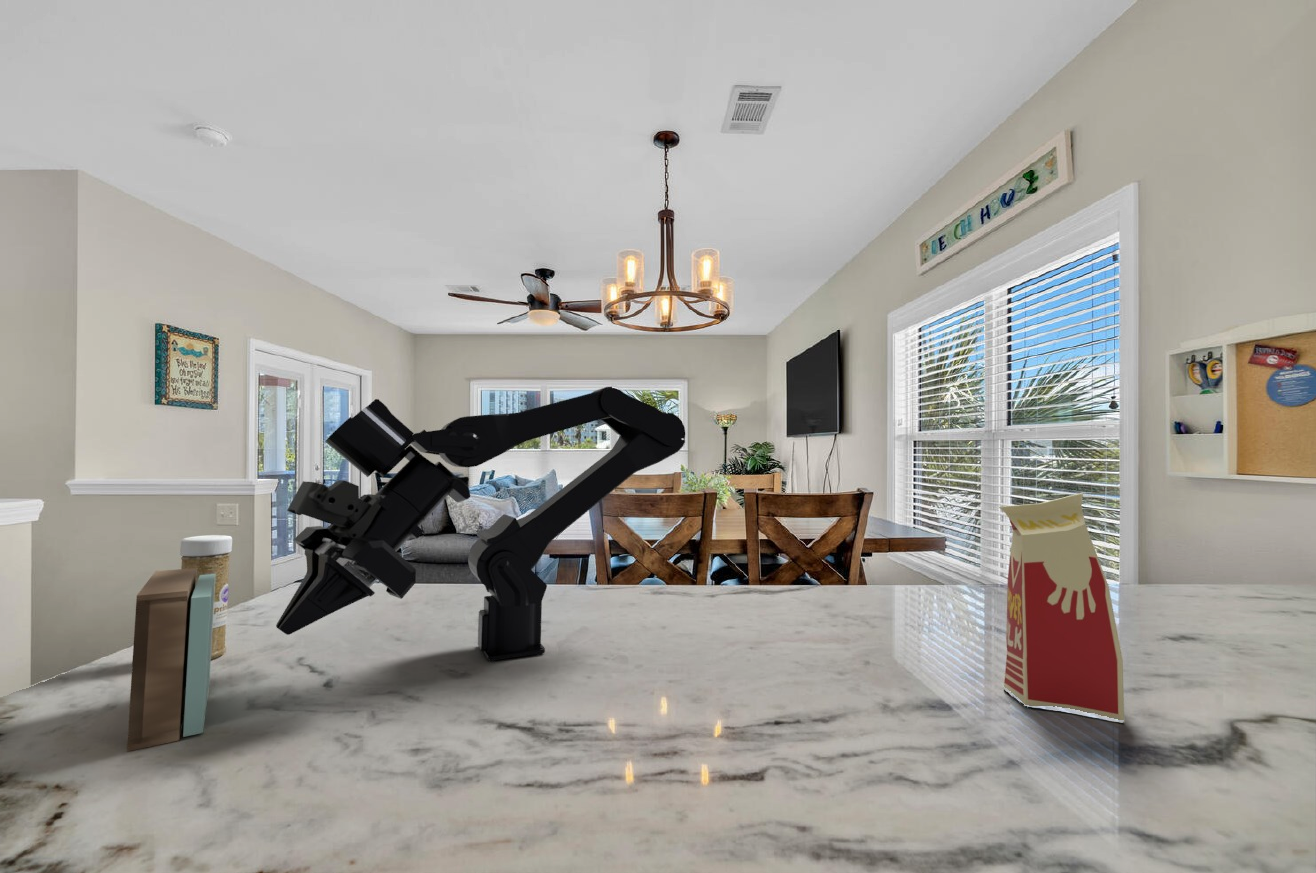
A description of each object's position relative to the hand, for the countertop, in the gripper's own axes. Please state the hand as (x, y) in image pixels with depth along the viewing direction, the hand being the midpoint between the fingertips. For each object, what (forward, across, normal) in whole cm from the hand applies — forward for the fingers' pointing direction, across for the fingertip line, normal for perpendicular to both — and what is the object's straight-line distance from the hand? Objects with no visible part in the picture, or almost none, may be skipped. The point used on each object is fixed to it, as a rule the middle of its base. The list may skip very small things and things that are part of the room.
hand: (281, 630), depth 52 cm
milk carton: (-31, +53, +42) cm, 75 cm away
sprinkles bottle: (+6, -19, +2) cm, 20 cm away
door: (+8, -2, 0) cm, 8 cm away
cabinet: (+10, -2, -2) cm, 10 cm away
